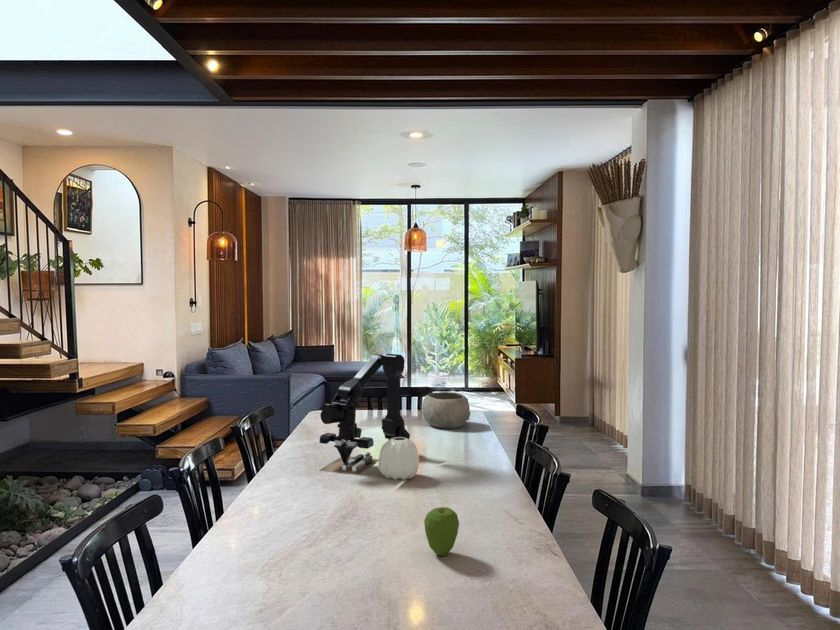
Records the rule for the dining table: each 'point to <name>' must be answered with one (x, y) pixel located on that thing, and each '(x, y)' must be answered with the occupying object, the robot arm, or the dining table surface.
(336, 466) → the board
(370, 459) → the tongs fixed
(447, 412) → the bowl
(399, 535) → the dining table surface
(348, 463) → the bar
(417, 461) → the vase
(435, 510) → the apple
